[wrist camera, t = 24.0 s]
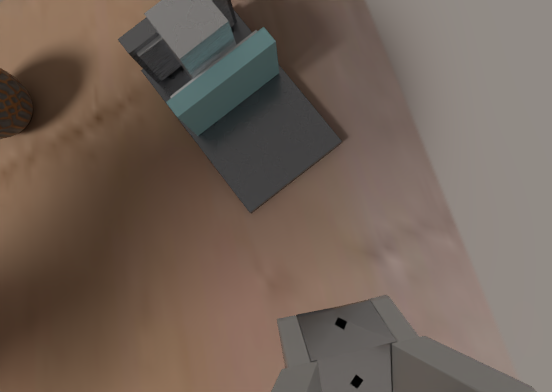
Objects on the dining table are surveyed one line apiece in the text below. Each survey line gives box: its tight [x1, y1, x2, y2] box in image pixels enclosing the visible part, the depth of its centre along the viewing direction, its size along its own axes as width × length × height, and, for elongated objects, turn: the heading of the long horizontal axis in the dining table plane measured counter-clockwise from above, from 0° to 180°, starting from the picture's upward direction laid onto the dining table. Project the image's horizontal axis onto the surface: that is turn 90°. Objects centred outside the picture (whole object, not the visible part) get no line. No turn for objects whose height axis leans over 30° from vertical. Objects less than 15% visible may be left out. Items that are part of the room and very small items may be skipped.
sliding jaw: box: [166, 27, 279, 136], centre depth 32 cm, size 2×10×6 cm, turn 128°
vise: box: [118, 0, 342, 213], centre depth 32 cm, size 18×11×7 cm, turn 38°
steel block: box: [144, 0, 236, 79], centre depth 31 cm, size 4×4×9 cm
